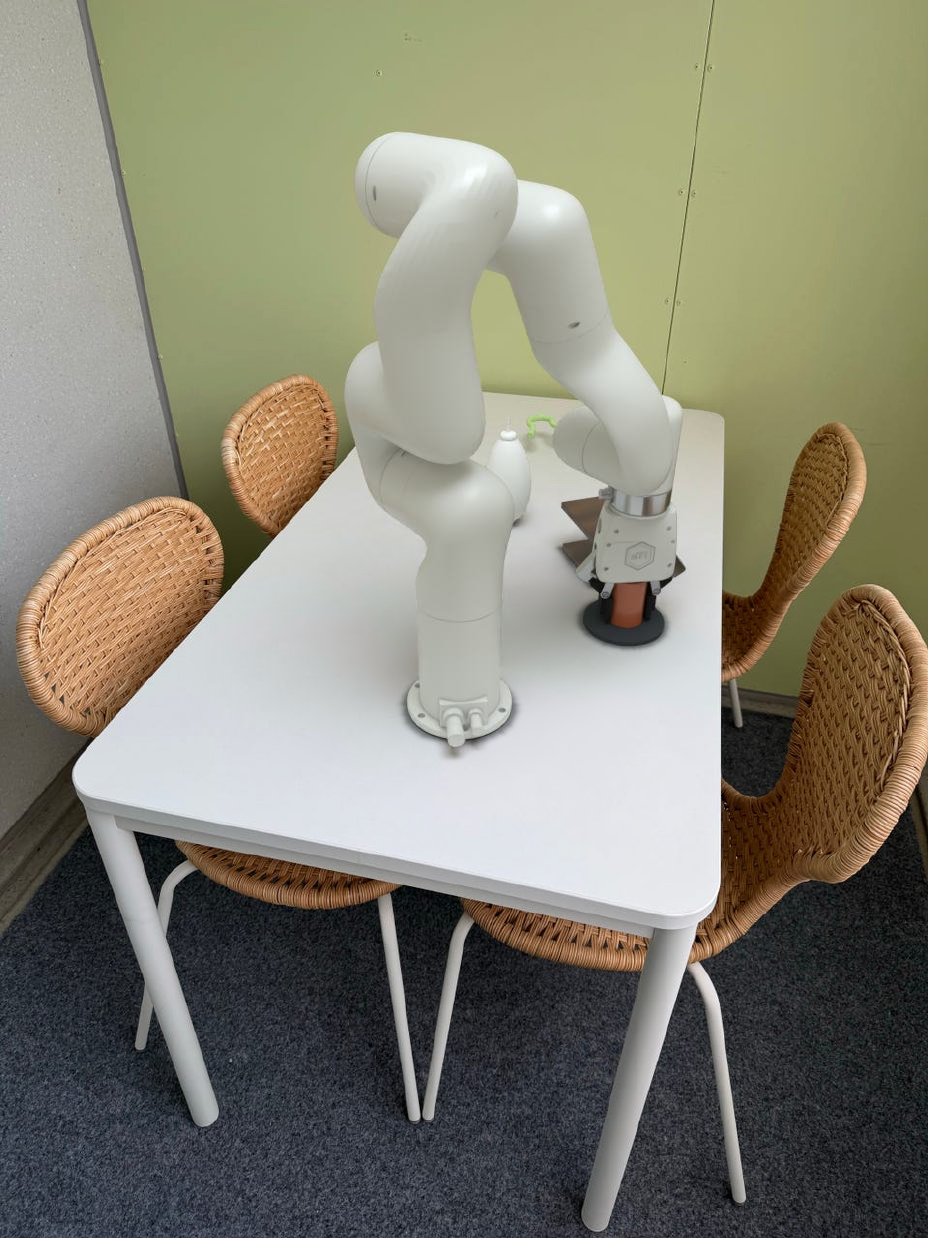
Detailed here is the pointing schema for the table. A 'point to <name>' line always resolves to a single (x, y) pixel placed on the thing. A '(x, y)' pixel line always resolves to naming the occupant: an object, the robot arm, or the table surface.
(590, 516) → the stand
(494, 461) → the sauce bottle
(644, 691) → the table surface
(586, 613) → the coaster
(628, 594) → the canister
